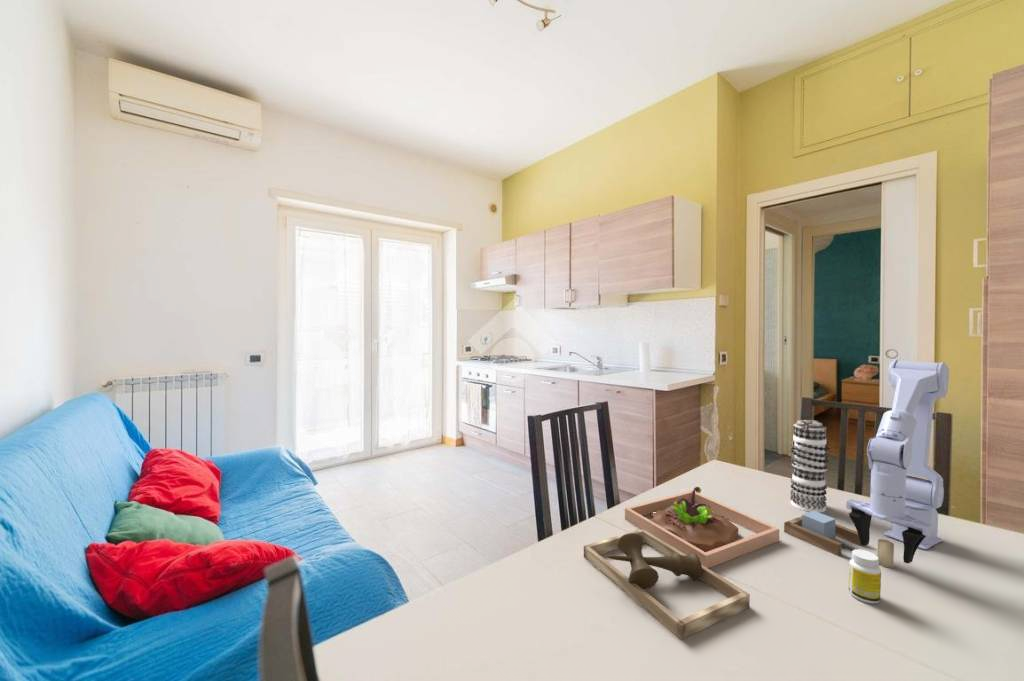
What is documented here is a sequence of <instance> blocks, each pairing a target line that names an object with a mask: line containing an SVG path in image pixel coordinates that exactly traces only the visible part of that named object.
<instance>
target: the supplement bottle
mask: <svg viewBox="0 0 1024 681" xmlns="http://www.w3.org/2000/svg"><path fill="white" fill-rule="evenodd" d="M848 562H849V565H848V567H849V568H848V592H849V594H850V595H851V596H852V597H854V598H855V599H856V600H858V601H861V602H863V603H866V604H872V605H873V604H879V603H880V602H881V586H882V580H881V579H882V570H881V568H880V567H879V565H880V564H879V558H878V555H876V554H875V553H873V552H872V551H871V552H870V551H869V550H864V549H858V548H856V549H855V550H853V551H851V559H850V560H849V561H848Z"/></svg>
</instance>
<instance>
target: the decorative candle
mask: <svg viewBox="0 0 1024 681" xmlns="http://www.w3.org/2000/svg"><path fill="white" fill-rule="evenodd" d="M792 426H793V428H794V429H793V437H792V439H793V440H792V441H791V442H790V452H791V453H792V454H791V455H790V459H791V460H790V461H791V462H790V464H791V466H792V467H793V470H792V471H793V472H792V478H791V480H790V482H791V484H790V488H791V489H790V494H791V495H790V496H789V497H790V504H791V505H792V506H793V507H794V508H796V509H799V510H802V511H804V512H811V511H816V512H819V513H824V512H826V511H827V508H826V507H827V502H826V501H827V496H826V495H827V494H828V493H827V489H828V486H827V485H826V477H825V476H826V471H827V470H828V466H827V465H825V464H827V463H829V460H828V459H827V458H828V457H829V454H828V453H827V451H830V448H829V445H830V443H829V442H830V441H827V438H826V437H827V429H828V428H827V426H824V424H823V423H822V422H820V421H818V420H813V419H799V420H797V421H796V422H795V423H793V424H792Z"/></svg>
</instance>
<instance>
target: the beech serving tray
mask: <svg viewBox="0 0 1024 681" xmlns="http://www.w3.org/2000/svg"><path fill="white" fill-rule="evenodd" d="M627 533H636V534H639V535H640V536H642V538H643V541H644V542H643V543H645V544H646V543H647V545H648V544H649V545H650V546H649V545H648V546H649V547H651V546H652V547H653V549H654V548H655V549H656V550H655V549H654V550H655V551H657V550H658V551H657V552H659V553H660V552H661V553H660V554H661V555H663V554H664V555H663V556H670V555H671V554H672V553H673V552H677V553H678V554H680V555H684V556H686V555H685V554H683V553H682V552H680V551H679V550H677V549H675V548H674V547H672V546H670V545H669V544H667V543H666V542H664V541H662V540H661V539H659V538H657V537H656V536H654V535H653V534H651V533H649V532H648V531H646V530H645V529H641V528H639V529H636V530H634V531H633V530H632V531H629V532H627ZM627 533H626V532H625V533H622V534H619V535H615V536H613V537H610V538H606V539H603V540H599V541H596V542H593V543H590V544H585V545H583V558H585V559H586V558H587V559H588V560H589V561H588V560H587V559H586V560H587V561H588V562H589V563H591V564H592V563H593V564H594V565H595V566H596V567H595V566H594V565H593V564H592V565H593V566H594V567H595V568H596V569H598V568H599V569H600V570H601V571H602V572H603V573H602V572H601V571H600V570H599V569H598V570H599V571H600V572H601V573H602V574H603V575H605V576H606V575H607V576H608V577H609V578H610V580H611V579H612V580H613V581H614V582H615V583H616V584H615V583H614V582H613V581H612V580H611V581H612V582H613V583H614V584H615V585H616V586H617V587H619V586H620V587H621V588H622V589H623V590H622V589H621V588H620V587H619V588H620V589H621V590H622V591H623V592H625V593H626V594H627V595H628V594H629V595H630V596H629V595H628V596H629V597H630V598H631V599H632V600H634V601H635V602H636V601H637V602H636V603H637V604H639V605H640V606H641V607H642V606H643V607H644V608H643V607H642V608H643V609H644V610H646V611H647V612H648V611H649V612H650V613H651V614H650V613H649V612H648V613H649V614H650V615H651V616H652V617H654V618H655V619H656V620H657V621H658V622H660V623H661V624H662V625H663V624H664V626H665V627H666V628H667V629H668V630H669V631H670V632H671V633H673V634H674V635H675V636H676V637H677V636H678V637H677V638H678V639H680V640H684V639H685V638H687V637H689V636H692V635H693V634H696V633H698V632H700V631H702V630H704V629H708V628H709V627H711V626H713V625H714V624H715V625H716V624H717V623H719V622H721V621H723V620H725V618H726V619H727V618H729V617H732V616H733V615H736V614H738V613H740V612H742V611H744V610H746V609H749V608H750V602H751V600H750V593H748V592H747V591H745V590H743V589H742V588H740V587H739V586H737V585H735V584H734V583H733V582H730V581H729V580H727V579H725V578H724V577H722V576H721V575H719V574H717V573H716V572H714V571H713V570H711V569H709V568H706V567H705V566H703V565H702V573H701V576H700V578H699V579H700V580H701V581H703V582H704V583H706V584H707V585H709V586H710V587H712V588H714V589H715V590H716V591H718V592H720V593H721V594H722V595H724V596H725V597H727V598H726V599H724V600H722V601H720V602H718V603H716V604H712V605H711V606H709V607H706V608H704V609H702V610H700V611H697V612H695V613H693V614H691V615H688V616H686V617H684V618H679V617H678V616H677V615H675V614H674V613H673V612H672V611H670V610H669V609H668V608H667V607H666V606H664V605H663V604H662V603H660V602H659V601H658V600H656V598H654V597H653V596H652V595H650V594H649V593H648V592H647V591H646V590H645V589H642V588H640V587H639V586H638V585H637V584H632V583H629V582H628V580H629V576H627V575H626V574H624V573H623V572H622V571H621V570H619V569H618V568H617V567H616V566H614V565H613V564H612V563H610V562H609V561H608V560H607V559H606V558H604V557H603V556H602V554H601V553H603V554H605V553H604V552H606V553H609V552H612V551H611V550H613V551H615V549H616V550H619V549H618V540H619V539H620V537H621V536H623V535H624V534H627ZM652 547H651V548H652ZM608 551H609V552H608ZM599 554H600V555H599ZM607 576H606V577H607ZM608 577H607V578H608ZM609 578H608V579H609ZM731 615H732V616H731Z"/></svg>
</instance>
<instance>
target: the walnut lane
mask: <svg viewBox="0 0 1024 681" xmlns="http://www.w3.org/2000/svg"><path fill="white" fill-rule="evenodd" d="M783 532H784V533H785V534H787V535H790V536H793V537H795V538H796V539H798V540H801V541H803V542H806V543H808V544H811V545H813V546H815V547H817V548H820V549H822V550H824V551H827V552H829V553H832V554H833V555H836V556H840V555H842V553H843V552H842V551H843V549H842V548H843V547H842V543H843V542H842V543H839V542H840V541H839V542H837V541H838V540H837V541H834V540H832V539H830V538H827V537H825V536H822V535H820V534H818V533H815V532H813V531H810V530H808V529H805V528H803V527H802V515H801V516H798V517H796V518H793V519H790V520H787V521H784V523H783ZM835 537H837V538H839V539H842V540H844V541H847V542H850V543H852V544H855V545H857V546H859V547H861V546H862V545H861V543H860V539H859V535H858V532H857V530H855V529H851V528H849V527H846V526H844V525H840V524H838V523H837V522H836V523H835Z"/></svg>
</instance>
